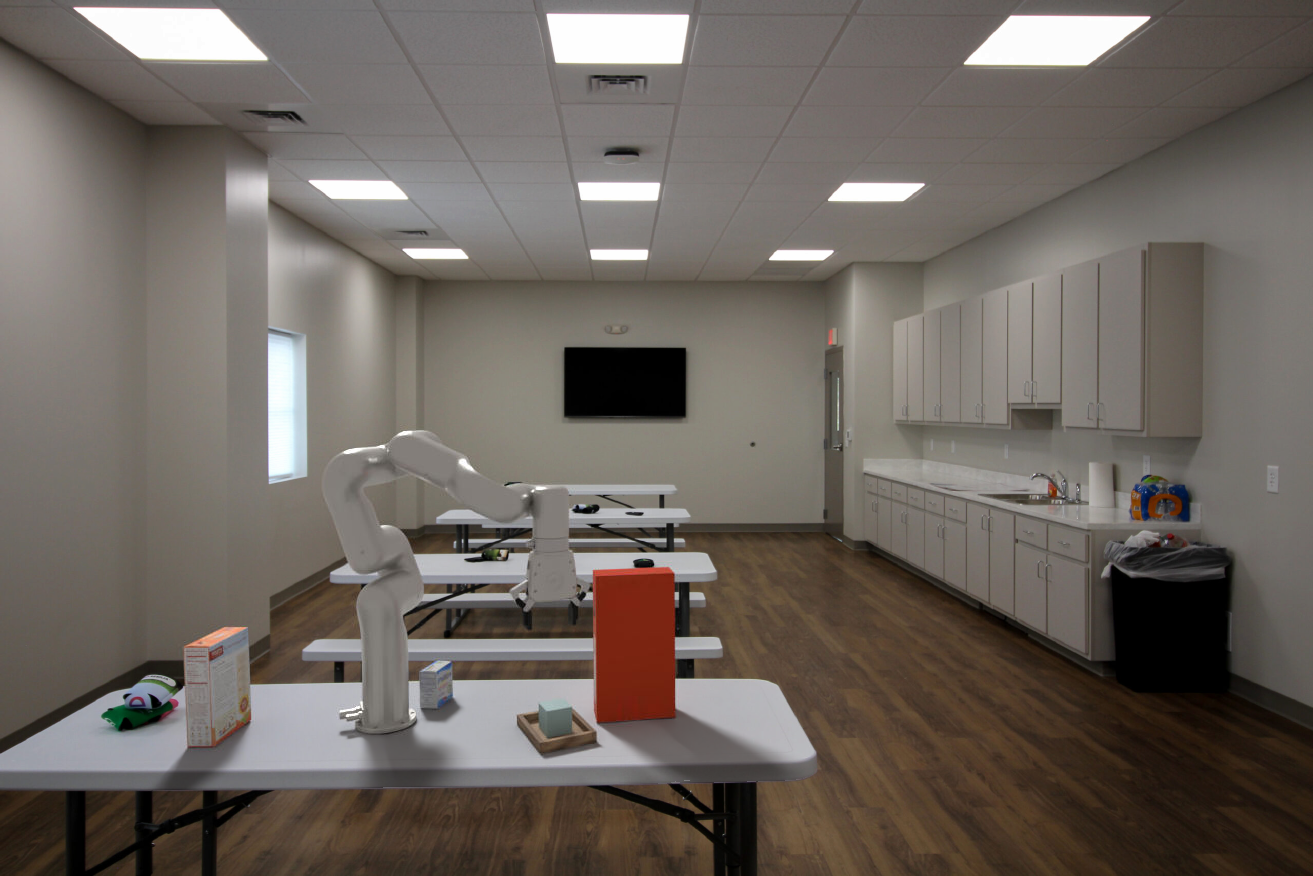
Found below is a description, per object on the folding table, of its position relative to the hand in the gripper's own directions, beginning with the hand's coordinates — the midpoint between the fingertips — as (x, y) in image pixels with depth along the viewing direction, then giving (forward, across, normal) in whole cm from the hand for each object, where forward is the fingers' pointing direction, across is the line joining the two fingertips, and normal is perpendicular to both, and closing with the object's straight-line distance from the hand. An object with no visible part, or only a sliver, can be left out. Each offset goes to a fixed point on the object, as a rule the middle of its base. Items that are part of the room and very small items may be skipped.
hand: (550, 626), depth 161 cm
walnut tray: (+22, +1, -1) cm, 22 cm away
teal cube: (+22, +1, -1) cm, 22 cm away
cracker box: (+24, -62, +30) cm, 73 cm away
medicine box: (+23, -18, +28) cm, 40 cm away
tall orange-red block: (+22, +20, +1) cm, 30 cm away
